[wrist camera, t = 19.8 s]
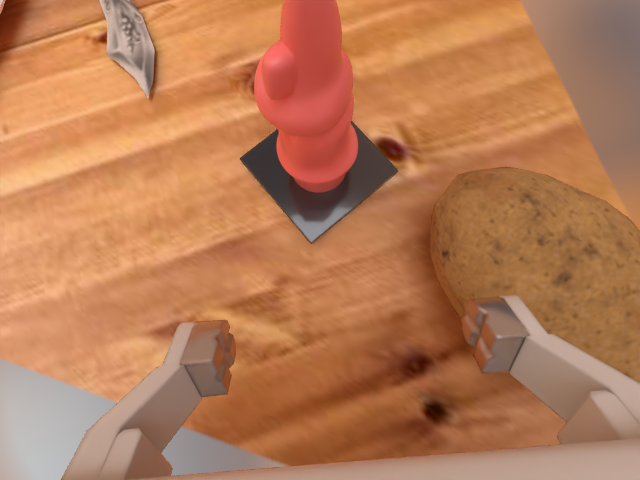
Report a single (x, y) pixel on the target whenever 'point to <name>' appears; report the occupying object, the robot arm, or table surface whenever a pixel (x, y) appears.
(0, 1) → the plate
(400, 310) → the table surface
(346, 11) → the table surface
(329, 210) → the coaster
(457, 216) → the potato
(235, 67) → the table surface
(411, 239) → the table surface
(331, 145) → the figurine
